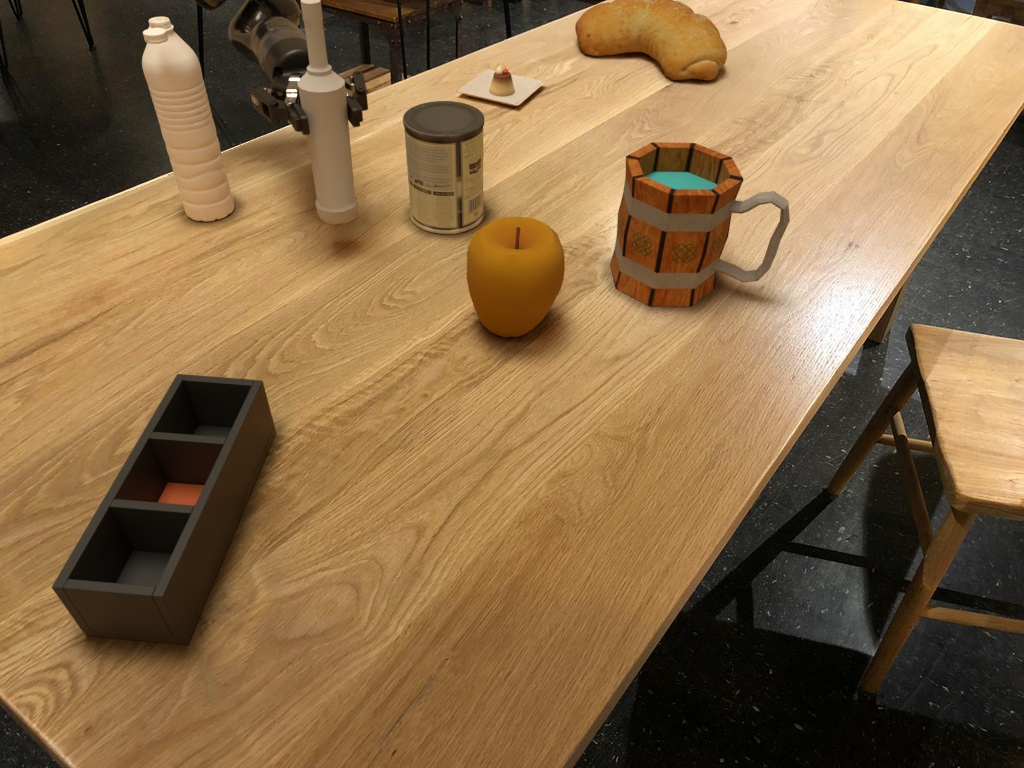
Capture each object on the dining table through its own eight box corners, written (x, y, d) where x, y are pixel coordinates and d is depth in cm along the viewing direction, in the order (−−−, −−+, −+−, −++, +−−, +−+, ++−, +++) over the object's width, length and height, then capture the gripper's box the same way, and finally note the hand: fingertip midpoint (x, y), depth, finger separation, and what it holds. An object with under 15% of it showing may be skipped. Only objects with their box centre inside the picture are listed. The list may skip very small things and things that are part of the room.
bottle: (357, 225, 94) (333, 9, 77) (314, 224, 94) (280, 8, 76) (360, 203, 98) (338, -7, 81) (319, 203, 97) (288, -9, 80)
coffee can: (418, 193, 110) (412, 97, 101) (488, 199, 110) (490, 103, 100) (401, 231, 103) (394, 131, 93) (477, 238, 102) (477, 138, 92)
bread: (746, 61, 152) (758, 7, 145) (701, 91, 140) (712, 35, 134) (608, 23, 166) (614, -27, 159) (556, 48, 154) (560, -5, 147)
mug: (595, 293, 94) (610, 182, 84) (622, 238, 103) (639, 132, 93) (757, 332, 89) (794, 220, 79) (770, 270, 99) (804, 163, 88)
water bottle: (187, 200, 107) (132, 10, 90) (236, 196, 108) (190, 8, 91) (182, 233, 101) (121, 36, 84) (233, 229, 102) (184, 34, 85)
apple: (553, 360, 85) (562, 263, 76) (457, 348, 86) (455, 250, 77) (564, 301, 92) (573, 207, 84) (476, 290, 93) (476, 196, 85)
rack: (85, 636, 59) (51, 587, 54) (196, 425, 76) (177, 373, 71) (187, 645, 59) (162, 597, 54) (276, 431, 75) (262, 380, 71)
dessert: (545, 87, 140) (547, 60, 136) (518, 111, 132) (519, 83, 128) (487, 74, 143) (487, 48, 140) (456, 97, 135) (456, 70, 132)
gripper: (352, 89, 101) (394, 144, 90) (241, 104, 96) (272, 165, 85) (346, 30, 96) (390, 80, 85) (228, 43, 91) (259, 99, 80)
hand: (331, 122), depth 85 cm, fingers closed on bottle, 5 cm apart
